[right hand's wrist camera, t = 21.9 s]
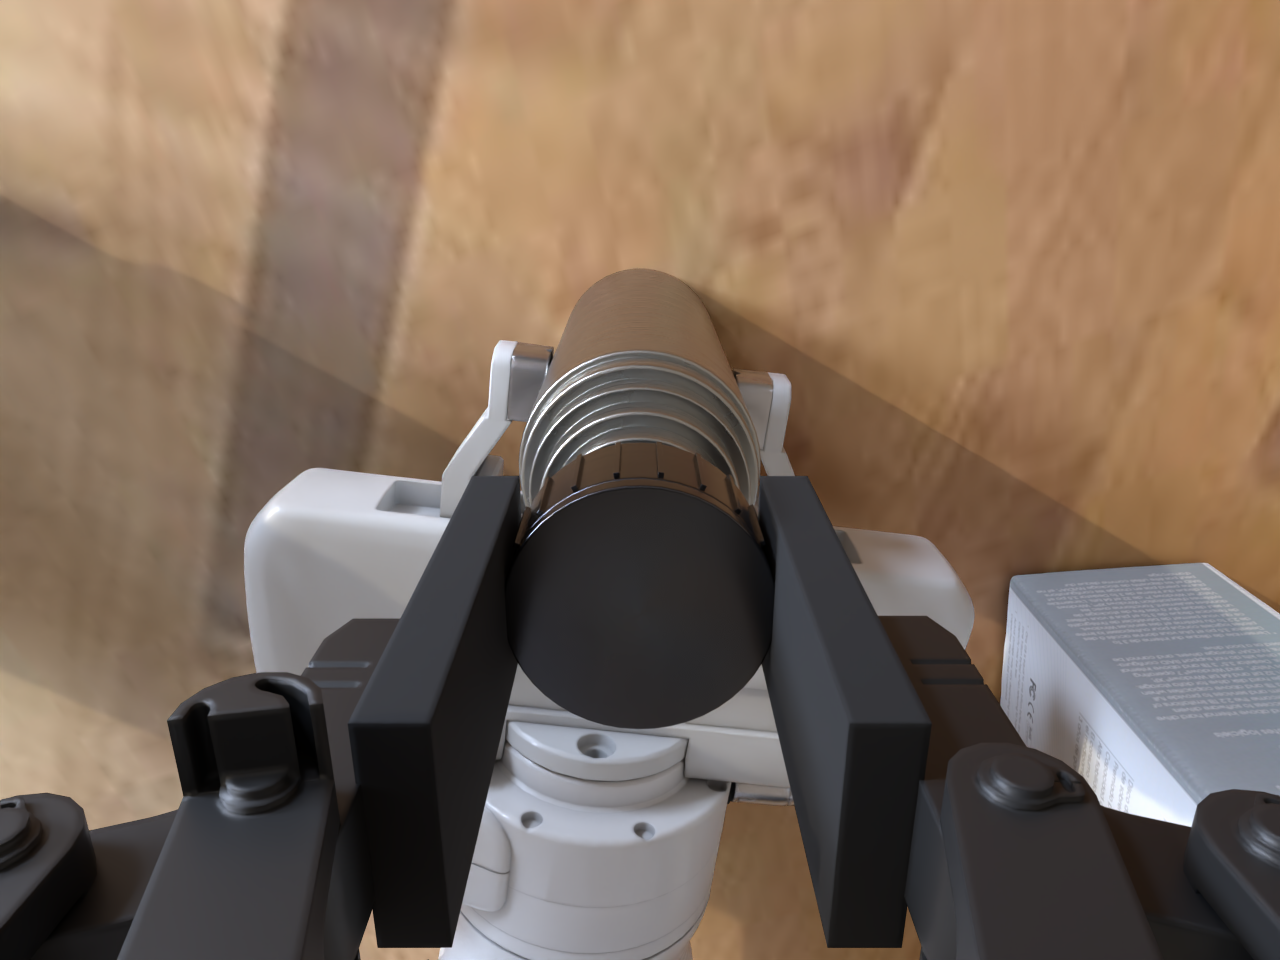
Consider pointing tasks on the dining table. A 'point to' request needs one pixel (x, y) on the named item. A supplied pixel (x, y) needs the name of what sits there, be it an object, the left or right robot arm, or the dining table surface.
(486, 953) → the left robot arm
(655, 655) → the cap
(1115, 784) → the hard drive box
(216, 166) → the dining table surface
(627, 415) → the bottle
